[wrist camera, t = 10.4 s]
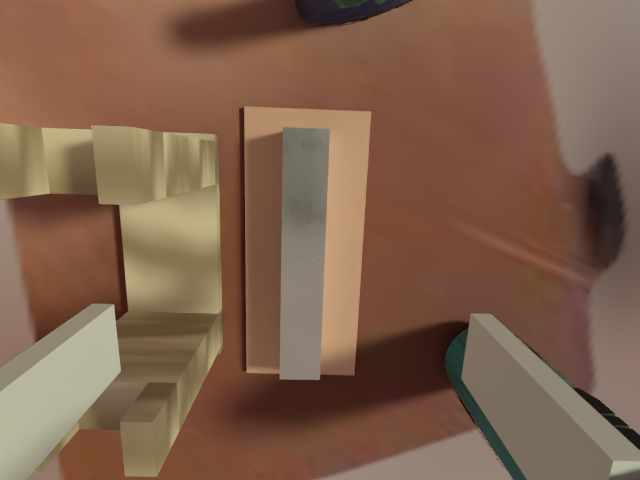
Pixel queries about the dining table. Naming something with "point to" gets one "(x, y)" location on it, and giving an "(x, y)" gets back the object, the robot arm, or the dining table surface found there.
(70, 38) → the dining table surface
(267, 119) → the mat
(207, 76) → the dining table surface
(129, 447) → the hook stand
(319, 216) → the rail
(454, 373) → the beverage bottle
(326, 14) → the flask
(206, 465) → the dining table surface
